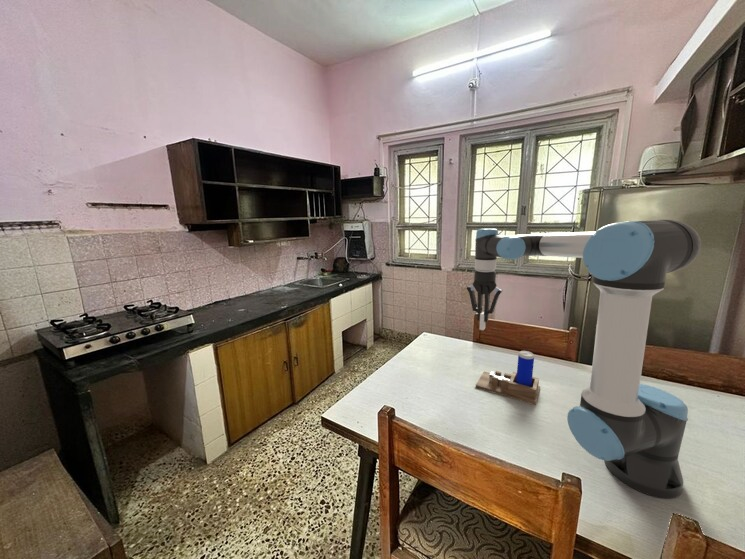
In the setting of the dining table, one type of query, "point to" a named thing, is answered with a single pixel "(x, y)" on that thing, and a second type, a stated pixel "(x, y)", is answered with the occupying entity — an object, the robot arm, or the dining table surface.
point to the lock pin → (496, 376)
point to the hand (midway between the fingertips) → (482, 328)
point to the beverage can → (525, 368)
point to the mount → (510, 387)
